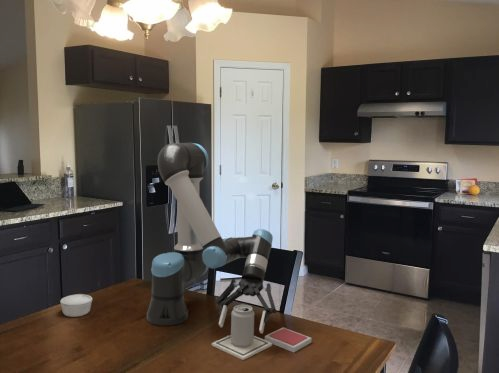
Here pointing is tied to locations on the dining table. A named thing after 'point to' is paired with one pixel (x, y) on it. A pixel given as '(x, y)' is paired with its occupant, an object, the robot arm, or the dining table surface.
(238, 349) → the marked board
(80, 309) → the ramekin
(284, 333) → the ink pad
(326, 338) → the dining table surface
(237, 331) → the can
